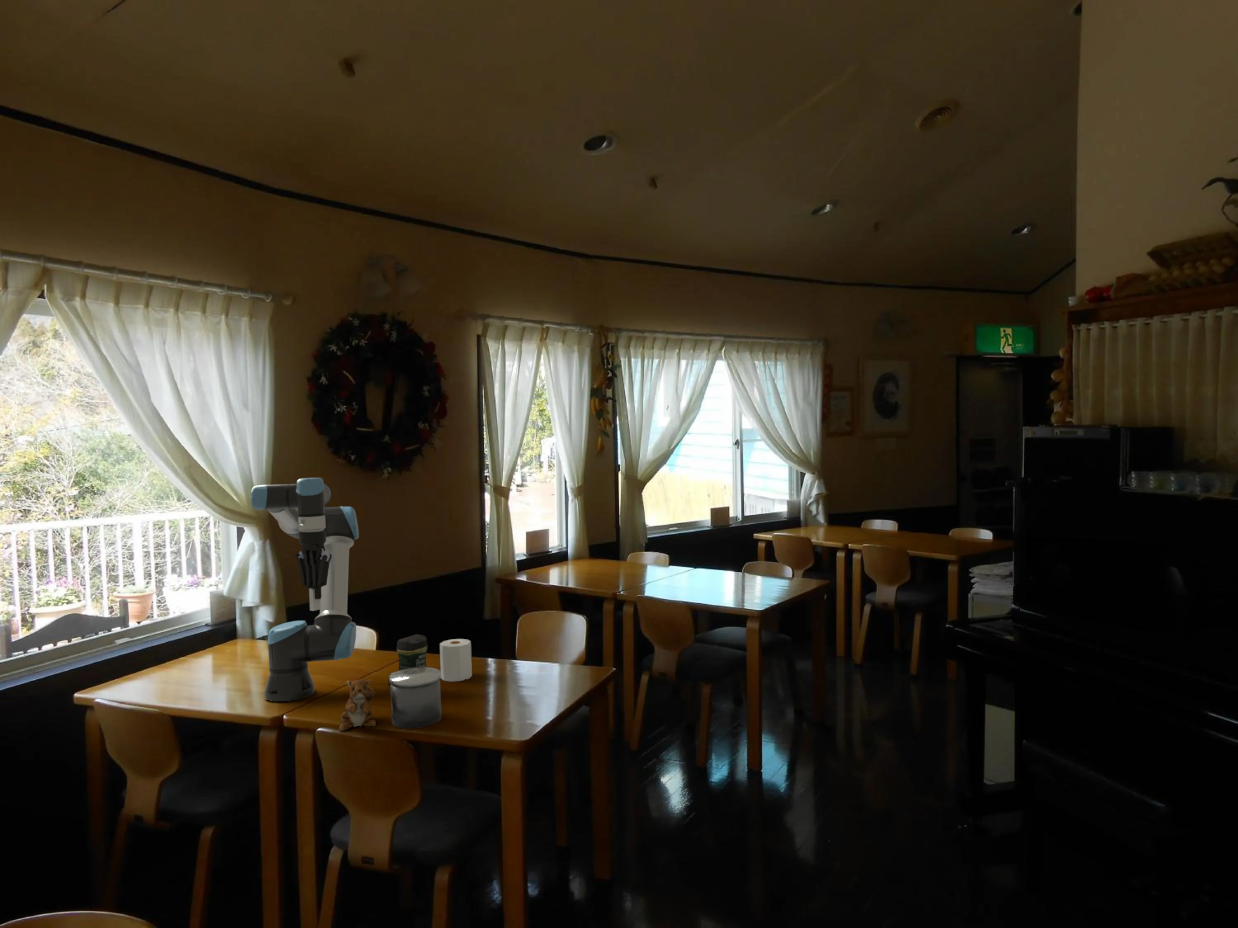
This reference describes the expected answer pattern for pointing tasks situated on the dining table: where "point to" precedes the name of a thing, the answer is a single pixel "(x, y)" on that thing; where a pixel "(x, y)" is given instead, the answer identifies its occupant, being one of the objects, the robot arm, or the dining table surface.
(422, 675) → the lid
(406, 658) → the coffee jar
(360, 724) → the stuffed squirrel
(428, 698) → the cooker pot
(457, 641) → the toilet paper
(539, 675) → the dining table surface
